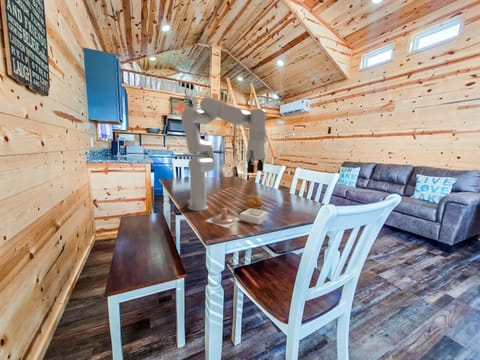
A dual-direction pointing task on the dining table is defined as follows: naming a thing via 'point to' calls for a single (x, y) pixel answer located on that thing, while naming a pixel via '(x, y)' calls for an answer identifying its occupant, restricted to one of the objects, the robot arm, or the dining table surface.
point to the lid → (223, 217)
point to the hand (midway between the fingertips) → (255, 171)
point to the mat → (223, 224)
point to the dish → (254, 216)
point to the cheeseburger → (254, 203)
